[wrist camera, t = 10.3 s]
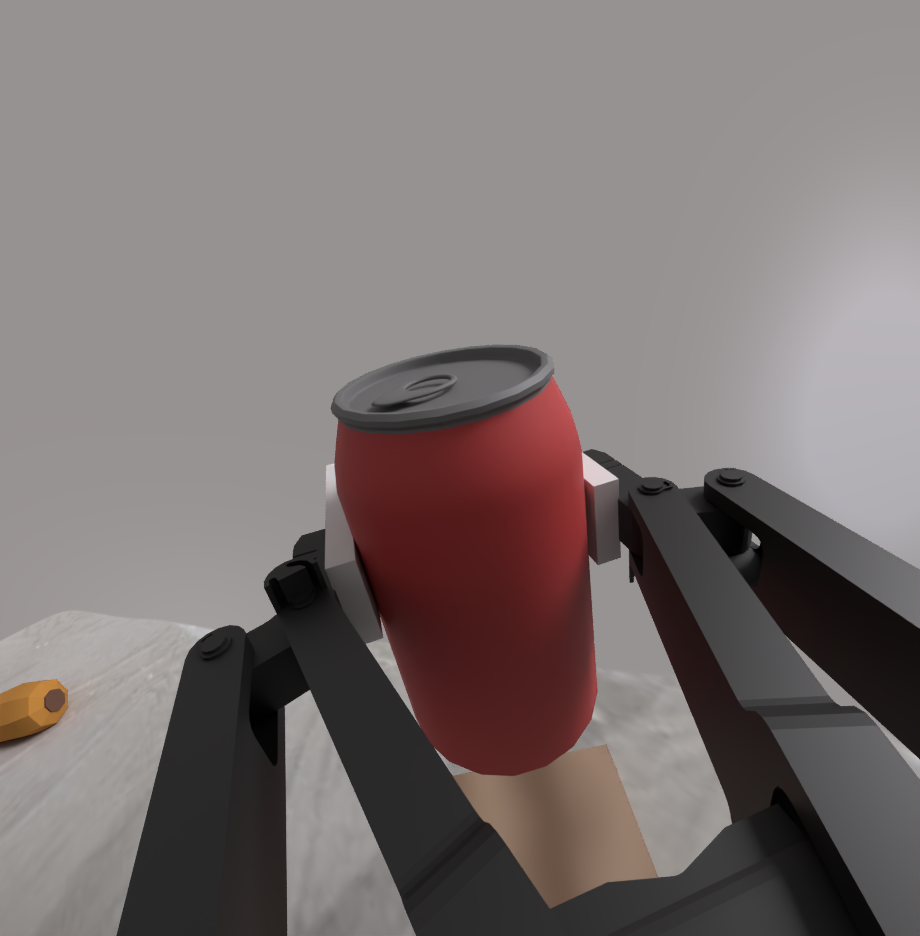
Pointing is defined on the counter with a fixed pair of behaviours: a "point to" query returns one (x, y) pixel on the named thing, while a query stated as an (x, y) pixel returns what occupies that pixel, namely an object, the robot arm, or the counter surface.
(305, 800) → the counter surface
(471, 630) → the beer can
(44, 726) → the carrot
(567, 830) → the walnut board
